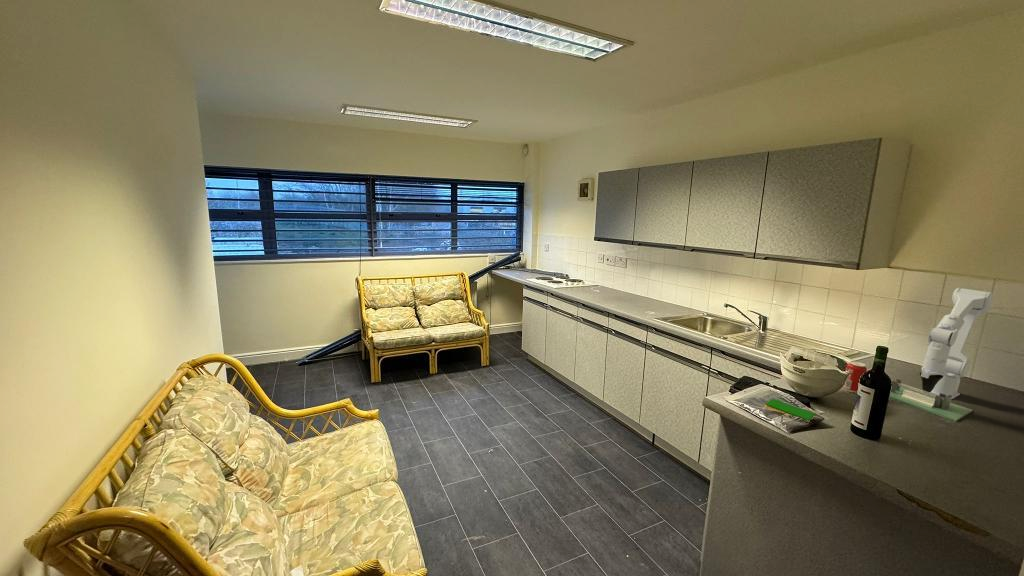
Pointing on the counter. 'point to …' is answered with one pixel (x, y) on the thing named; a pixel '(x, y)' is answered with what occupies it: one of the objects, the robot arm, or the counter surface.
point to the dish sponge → (789, 409)
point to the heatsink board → (928, 402)
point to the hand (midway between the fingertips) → (926, 391)
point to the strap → (918, 390)
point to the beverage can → (854, 375)
